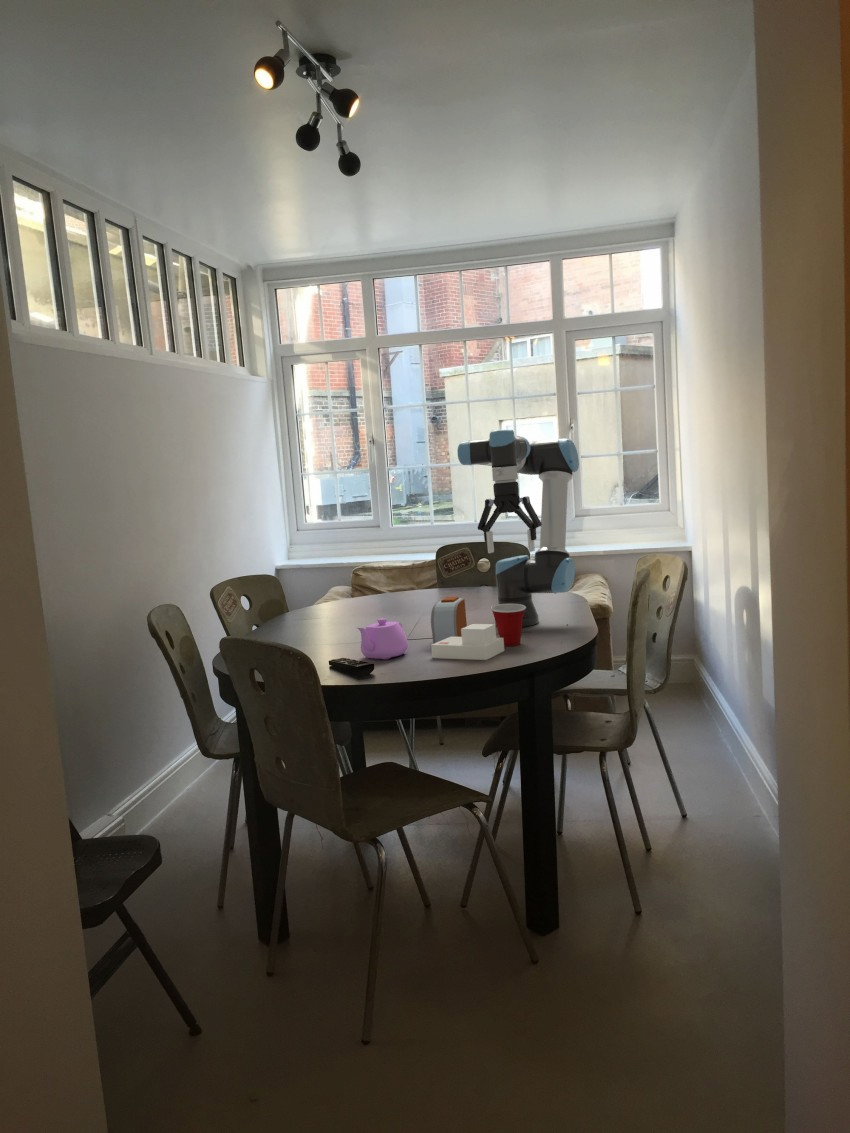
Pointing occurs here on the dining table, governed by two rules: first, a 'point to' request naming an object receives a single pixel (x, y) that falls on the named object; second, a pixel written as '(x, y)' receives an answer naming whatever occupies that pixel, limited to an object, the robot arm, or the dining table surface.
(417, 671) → the dining table surface
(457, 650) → the socket
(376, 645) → the teapot
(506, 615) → the plastic cup
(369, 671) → the dining table surface
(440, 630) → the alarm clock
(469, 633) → the plug
